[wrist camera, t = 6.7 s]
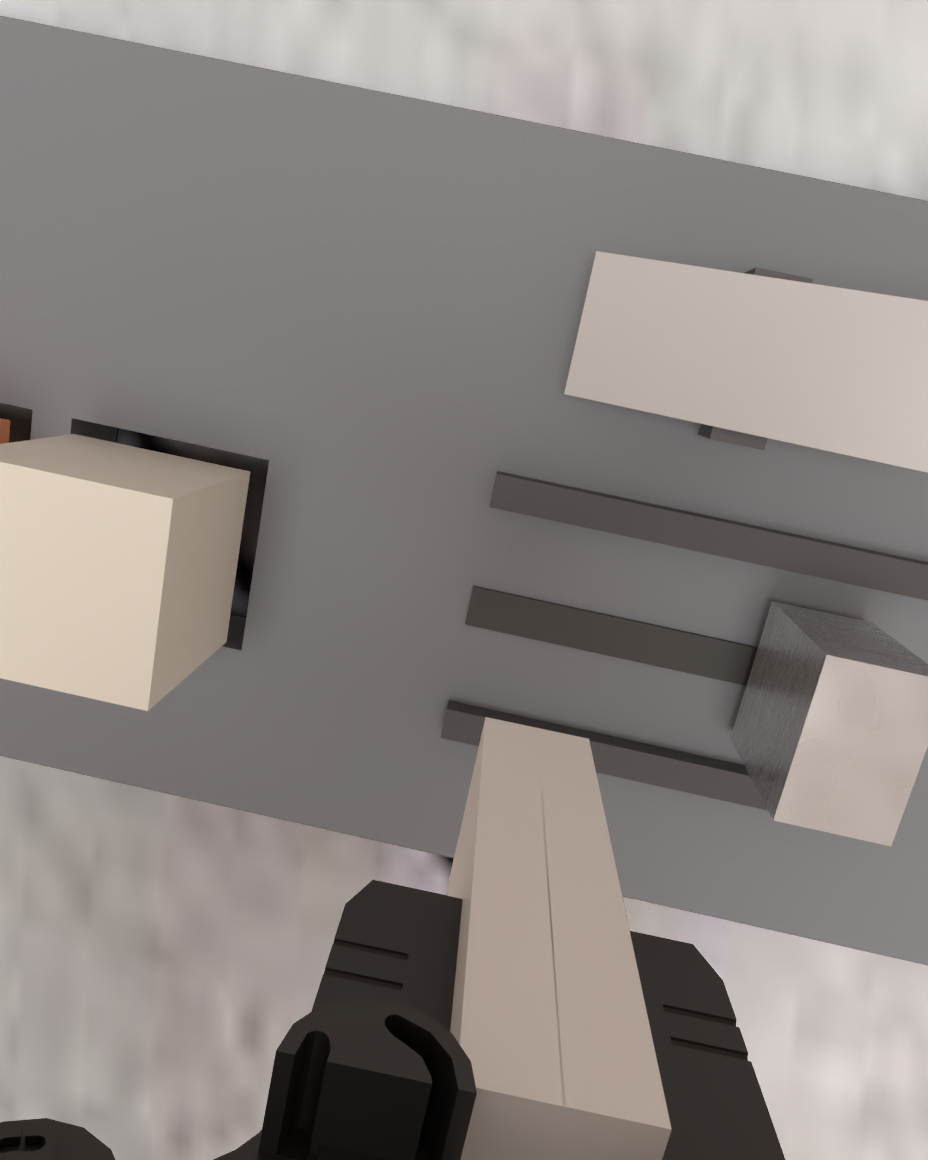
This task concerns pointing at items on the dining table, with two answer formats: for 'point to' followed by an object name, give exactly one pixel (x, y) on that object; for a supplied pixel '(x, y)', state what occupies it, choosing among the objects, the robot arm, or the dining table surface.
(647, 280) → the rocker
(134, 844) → the dining table surface
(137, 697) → the button
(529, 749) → the robot arm
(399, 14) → the dining table surface
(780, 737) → the slider knob
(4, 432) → the button
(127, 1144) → the dining table surface
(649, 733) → the console
